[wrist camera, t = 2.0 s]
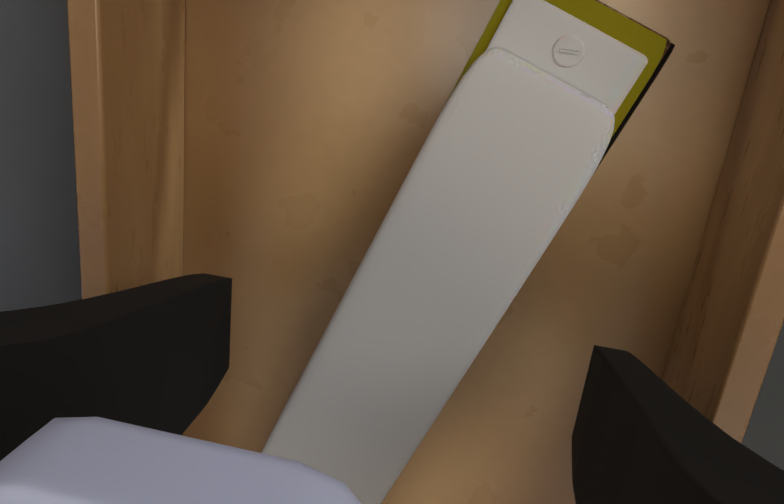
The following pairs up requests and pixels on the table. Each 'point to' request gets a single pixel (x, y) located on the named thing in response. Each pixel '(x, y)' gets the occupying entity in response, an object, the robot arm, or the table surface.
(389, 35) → the tray
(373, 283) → the harmonica
